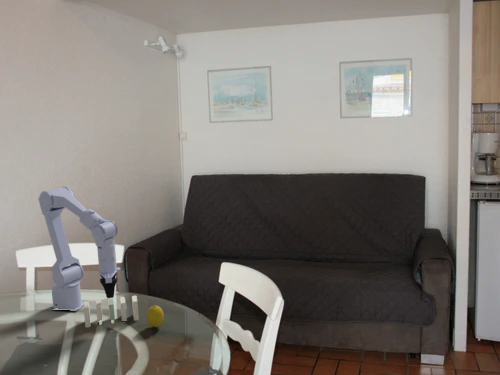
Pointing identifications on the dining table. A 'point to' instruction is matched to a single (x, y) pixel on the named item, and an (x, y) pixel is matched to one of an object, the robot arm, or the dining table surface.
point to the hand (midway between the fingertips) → (110, 295)
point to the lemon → (155, 316)
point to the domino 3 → (111, 309)
